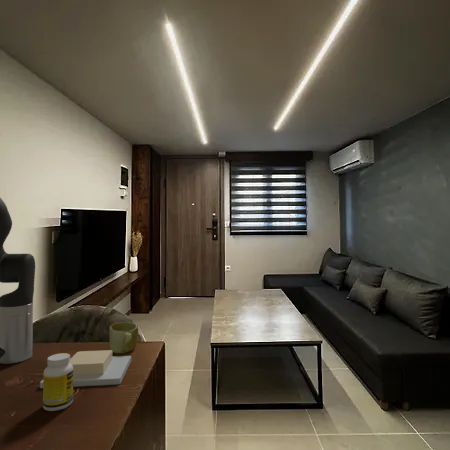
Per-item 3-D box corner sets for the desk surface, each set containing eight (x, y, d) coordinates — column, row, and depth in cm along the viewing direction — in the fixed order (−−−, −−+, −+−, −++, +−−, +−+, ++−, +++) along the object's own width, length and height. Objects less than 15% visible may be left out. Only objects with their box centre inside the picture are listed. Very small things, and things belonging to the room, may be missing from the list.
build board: (39, 388, 83) (40, 370, 83) (64, 363, 99) (64, 348, 99) (120, 384, 85) (120, 366, 85) (131, 360, 101) (131, 345, 101)
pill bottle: (72, 408, 73) (72, 359, 74) (40, 414, 71) (41, 363, 71) (73, 396, 79) (74, 350, 79) (45, 401, 77) (45, 353, 77)
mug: (103, 340, 114) (112, 314, 114) (132, 346, 118) (141, 321, 117) (101, 360, 103) (111, 331, 102) (132, 365, 106) (143, 337, 106)
